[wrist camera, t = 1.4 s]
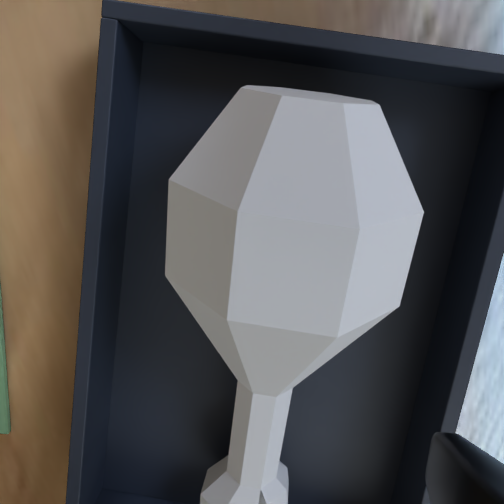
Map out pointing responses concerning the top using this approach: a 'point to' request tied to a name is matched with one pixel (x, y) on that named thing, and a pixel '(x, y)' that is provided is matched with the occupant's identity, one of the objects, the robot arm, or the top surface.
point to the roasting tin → (185, 325)
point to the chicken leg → (286, 255)
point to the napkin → (3, 381)
